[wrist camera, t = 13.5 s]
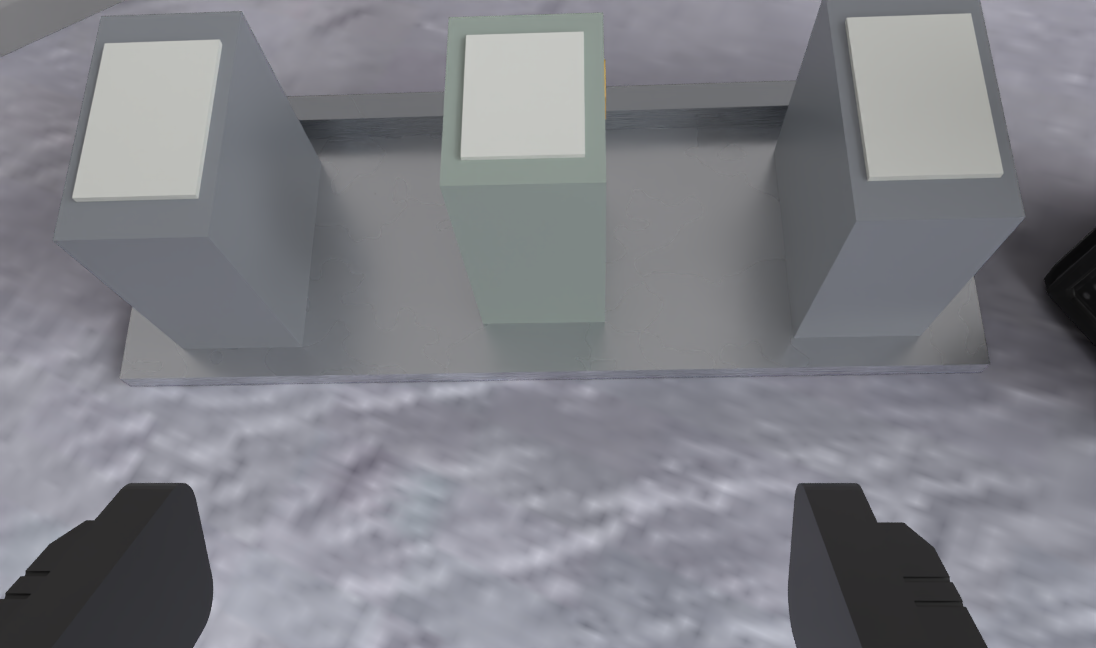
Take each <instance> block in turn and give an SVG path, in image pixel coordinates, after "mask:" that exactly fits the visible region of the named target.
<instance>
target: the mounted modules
mask: <svg viewBox="0 0 1096 648" xmlns="http://www.w3.org/2000/svg"><path fill="white" fill-rule="evenodd" d="M774 151H775V160H776V170H777V180H778V190H779V199H780V209H781V219H782V229H783V238H784V248H785V258H786V268H787V277H788V287H789V297H790V307H791V316H792V326H793V336H794V338H821V337H875V336H921V335H922V333H923V332H924V331H925V330H926V329H927V328H928V327H929V326H930V324H931V323H932V322H933V321H934V320H935V319H936V318H937V317H938V315H939V314H940V313H941V312H942V311H943V310H944V309H945V308H946V306H947V305H948V304H949V303H950V302H951V301H952V300H953V298H954V297H955V296H956V295H957V294H958V293H959V292H960V291H961V289H962V288H963V287H964V286H965V285H966V284H967V283H968V282H969V280H970V279H971V278H972V277H973V276H974V275H975V274H976V272H977V271H978V270H979V269H980V268H981V267H982V266H983V265H984V263H985V262H986V261H987V260H988V259H989V258H990V257H991V256H992V254H993V253H994V252H995V251H996V250H997V249H998V248H999V247H1000V245H1001V244H1002V243H1003V242H1004V241H1005V240H1006V239H1007V237H1008V236H1009V235H1010V234H1011V233H1012V232H1013V231H1014V230H1015V228H1016V227H1017V226H1018V225H1019V224H1020V223H1021V222H1022V221H1023V219H1024V218H1025V212H1024V207H1023V203H1022V198H1021V193H1020V188H1019V184H1018V179H1017V174H1016V169H1015V165H1014V160H1013V155H1012V150H1011V146H1010V141H1009V136H1008V131H1007V126H1006V122H1005V117H1004V112H1003V107H1002V103H1001V98H1000V93H999V88H998V84H997V79H996V74H995V69H994V65H993V60H992V55H991V50H990V45H989V41H988V36H987V31H986V26H985V22H984V17H983V12H982V7H981V3H980V0H822V1H821V5H820V8H819V11H818V14H817V17H816V20H815V24H814V27H813V30H812V33H811V36H810V39H809V43H808V46H807V49H806V52H805V55H804V58H803V61H802V65H801V68H800V71H799V74H798V77H797V80H796V84H795V87H794V90H793V93H792V96H791V99H790V102H789V106H788V109H787V112H786V115H785V118H784V121H783V125H782V128H781V131H780V134H779V137H778V140H777V144H776V147H775V150H774ZM320 169H321V161H320V160H319V158H318V156H317V154H316V152H315V150H314V148H313V146H312V144H311V142H310V141H309V139H308V137H307V135H306V133H305V131H304V129H303V127H302V125H301V123H300V121H299V120H298V118H297V116H296V114H295V112H294V110H293V108H292V106H291V104H290V102H289V101H288V99H287V97H286V95H285V93H284V91H283V89H282V87H281V85H280V83H279V82H278V80H277V78H276V76H275V74H274V72H273V70H272V68H271V66H270V64H269V62H268V61H267V59H266V57H265V55H264V53H263V51H262V49H261V47H260V45H259V43H258V42H257V40H256V38H255V36H254V34H253V32H252V30H251V28H250V26H249V24H248V23H247V21H246V19H245V17H244V15H243V13H242V11H232V12H204V13H177V14H149V15H121V16H101V19H100V24H99V28H98V33H97V37H96V42H95V47H94V51H93V56H92V61H91V65H90V70H89V75H88V79H87V84H86V88H85V93H84V98H83V102H82V107H81V112H80V116H79V121H78V126H77V130H76V135H75V139H74V144H73V149H72V153H71V158H70V163H69V167H68V172H67V177H66V181H65V186H64V190H63V195H62V200H61V204H60V209H59V214H58V218H57V223H56V227H55V232H54V237H53V241H54V242H55V243H56V244H57V245H58V246H60V247H61V248H62V249H63V250H64V251H66V252H67V253H68V254H69V255H70V256H72V257H73V258H74V259H75V260H76V261H78V262H79V263H80V264H81V265H82V266H84V267H85V268H86V269H87V270H89V271H90V272H91V273H92V274H93V275H95V276H96V277H97V278H98V279H99V280H101V281H102V282H103V283H104V284H105V285H107V286H108V287H109V288H110V289H111V290H113V291H114V292H115V293H116V294H117V295H119V296H120V297H121V298H122V299H123V300H125V301H126V302H127V303H128V304H129V305H131V306H132V307H133V308H134V309H136V310H137V311H138V312H139V313H140V314H142V315H143V316H144V317H145V318H146V319H148V320H149V321H150V322H151V323H152V324H154V325H155V326H156V327H157V328H158V329H160V330H161V331H162V332H163V333H164V334H166V335H167V336H168V337H169V338H170V339H172V340H173V341H174V342H175V343H176V344H178V345H179V346H180V347H181V348H183V349H221V348H275V347H302V345H303V335H304V326H305V316H306V306H307V296H308V287H309V277H310V267H311V257H312V247H313V238H314V228H315V218H316V208H317V199H318V189H319V179H320Z"/></svg>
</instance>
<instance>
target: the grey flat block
mask: <svg viewBox="0 0 1096 648" xmlns="http://www.w3.org/2000/svg"><path fill="white" fill-rule="evenodd" d="M122 1H124V0H0V57H2V56H4V55H6V54H8V53H11V52H13V51H15V50H17V49H19V48H22V47H24V46H26V45H28V44H30V43H33V42H35V41H37V40H39V39H41V38H44V37H46V36H48V35H50V34H52V33H54V32H57V31H59V30H61V29H63V28H65V27H68V26H70V25H72V24H74V23H76V22H79V21H81V20H83V19H85V18H87V17H89V16H92V15H94V14H96V13H98V12H100V11H103V10H105V9H107V8H109V7H111V6H114V5H116V4H118V3H120V2H122Z"/></svg>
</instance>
